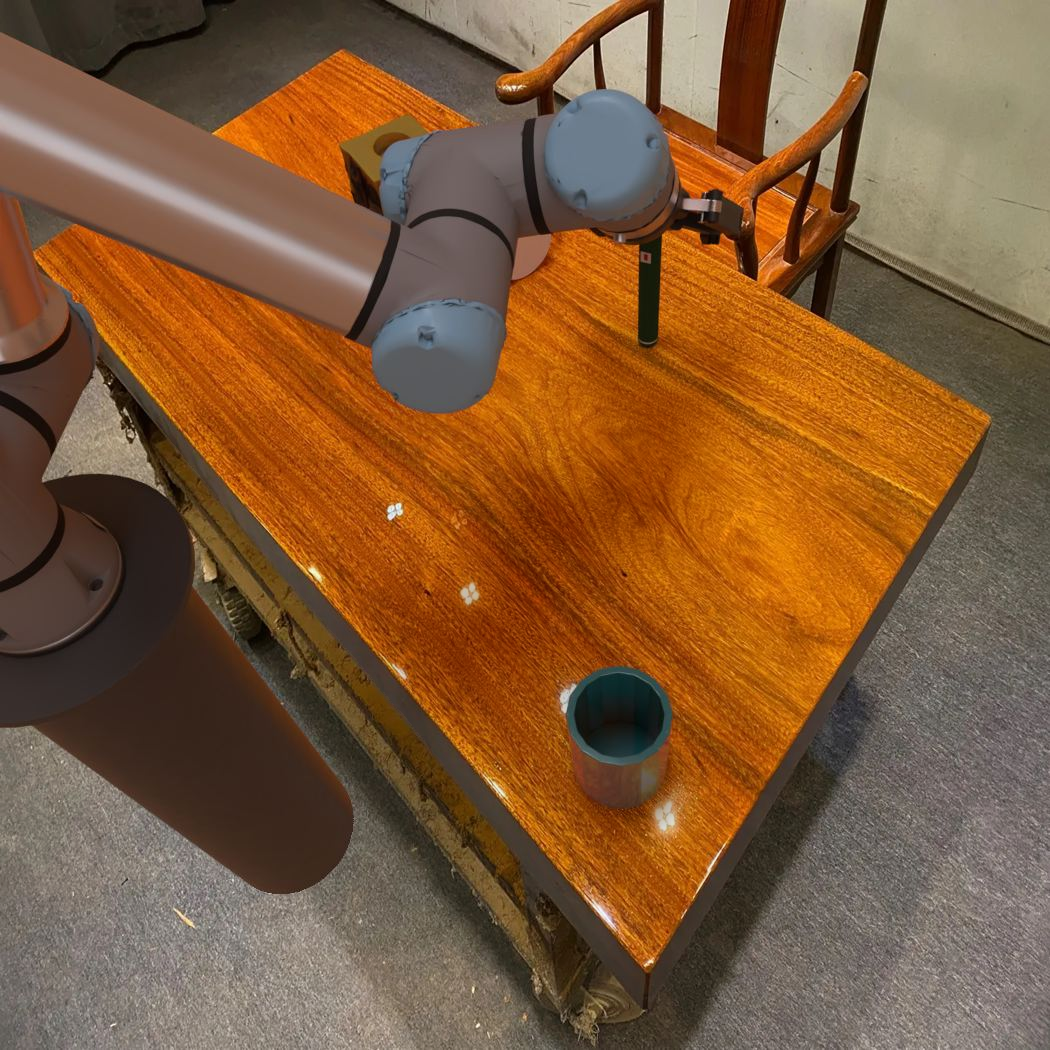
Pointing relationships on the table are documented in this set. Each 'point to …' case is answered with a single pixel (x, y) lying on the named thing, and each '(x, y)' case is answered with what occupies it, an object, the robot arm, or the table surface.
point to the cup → (619, 735)
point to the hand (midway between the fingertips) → (655, 226)
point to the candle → (374, 158)
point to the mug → (530, 254)
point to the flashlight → (649, 292)
